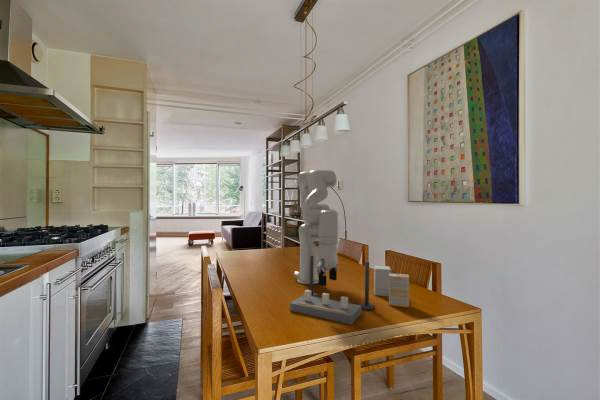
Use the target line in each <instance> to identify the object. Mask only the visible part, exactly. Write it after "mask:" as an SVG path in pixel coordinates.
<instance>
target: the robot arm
mask: <svg viewBox="0 0 600 400" xmlns="http://www.w3.org/2000/svg"><path fill="white" fill-rule="evenodd" d="M337 180H338V179H337V175H336V173H335V171H334V170H332V169H331V170H330V169H314V170H310V171H308V170H307V171H302V172H300V173H299V174H298V175H297V184H298V185H297V186H298V189H299V191H300V195H301V205H300V206H301V209H300V211H301V219H302V220H303V221H304V223H303V224H301V225H300V226H299V228H298V238H299V248H300V249H299V271H294V273H293V275H294V277H297V278H296V281H297V283H299V284H303V285H310V256H314V258H313V285H316V284H318V286H322V287H326V286H327V275H326V274H327V271H328V273H329V274H328V280H331V281H337V279H338V278H337V277H338V276H337V275H338V271H337V270H338V262H339V259H338V248H337V247H338V246H337V245H338V242H339V241H338V239H339V238H338V236H339V234H338V233H339V231H338V227H339V225H338V224H339V217H338V216H339V214H338V212H337V210H334V209H331V208H330V206H329V205H328V204H327V203H321V202H323V201H325V200H326V199H327V198H328V196H329V191H328V188H331V189H332V188H334V187H335V186H337ZM314 242H318V247H317V246H316V244H315V243H314Z"/></svg>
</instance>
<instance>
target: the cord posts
mask: <svg viewBox="0 0 600 400" xmlns="http://www.w3.org/2000/svg"><path fill="white" fill-rule="evenodd" d="M313 258H314V256H310V284H309V290H310V291H311V296H313V297H319V294H318V293H316V292H314V284H313ZM364 264H365V269H364V302H361V303H359V304H358V305H360V306H362V311H363V310H364V311H374V310H375V305H374V304H373V303H370V299H369V298H370V261H365V262H364Z"/></svg>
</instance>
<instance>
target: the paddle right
mask: <svg viewBox="0 0 600 400" xmlns="http://www.w3.org/2000/svg"><path fill="white" fill-rule="evenodd" d="M340 302H341V308H344V309H347V308H348V303H349V296H342V295H341V297H340Z"/></svg>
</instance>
